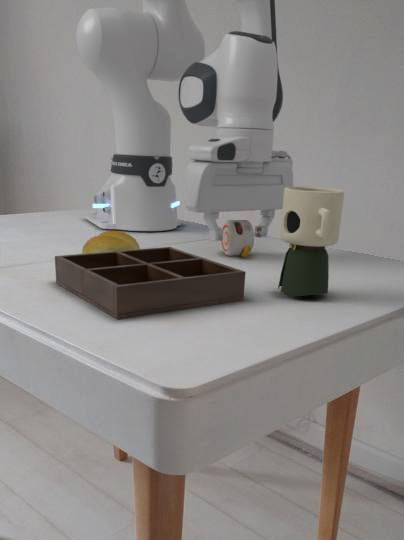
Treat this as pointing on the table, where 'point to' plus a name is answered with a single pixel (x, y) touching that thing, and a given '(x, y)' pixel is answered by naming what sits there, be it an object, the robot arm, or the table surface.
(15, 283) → the table surface
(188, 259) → the grid
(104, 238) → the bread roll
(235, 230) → the roller toy
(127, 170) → the robot arm
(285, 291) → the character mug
